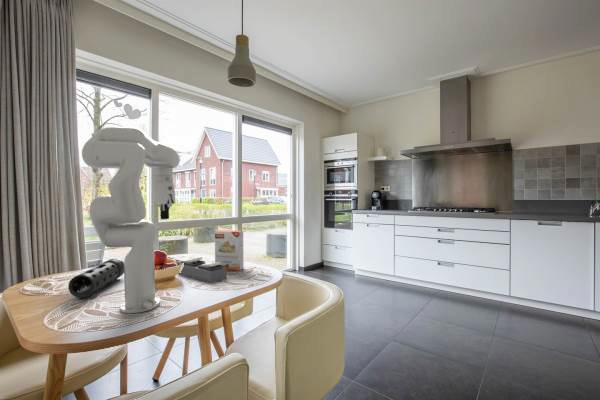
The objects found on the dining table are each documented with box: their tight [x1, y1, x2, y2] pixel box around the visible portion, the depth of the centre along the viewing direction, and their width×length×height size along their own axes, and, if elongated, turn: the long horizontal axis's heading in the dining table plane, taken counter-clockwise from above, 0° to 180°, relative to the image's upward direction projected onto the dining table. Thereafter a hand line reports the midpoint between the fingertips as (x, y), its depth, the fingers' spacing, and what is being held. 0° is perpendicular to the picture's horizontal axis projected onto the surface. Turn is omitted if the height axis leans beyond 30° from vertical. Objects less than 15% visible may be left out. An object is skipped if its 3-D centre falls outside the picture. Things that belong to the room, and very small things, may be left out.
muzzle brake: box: [68, 258, 124, 300], centre depth 122 cm, size 10×28×10 cm, turn 9°
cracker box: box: [214, 229, 244, 272], centre depth 151 cm, size 14×6×21 cm, turn 81°
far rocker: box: [184, 256, 203, 263], centre depth 144 cm, size 8×5×2 cm, turn 55°
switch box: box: [179, 258, 227, 284], centre depth 140 cm, size 26×9×6 cm, turn 55°
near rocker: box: [201, 261, 220, 268], centre depth 136 cm, size 8×5×2 cm, turn 55°
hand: (164, 218), depth 132 cm, fingers closed
